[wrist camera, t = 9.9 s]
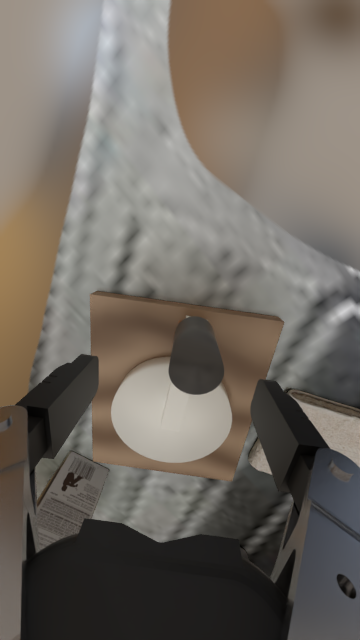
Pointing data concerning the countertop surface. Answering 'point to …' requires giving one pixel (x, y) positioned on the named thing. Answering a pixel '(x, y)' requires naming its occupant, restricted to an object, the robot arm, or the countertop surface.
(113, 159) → the countertop surface
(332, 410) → the washcloth
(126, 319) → the dial board
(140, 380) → the dial
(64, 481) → the coffee box
